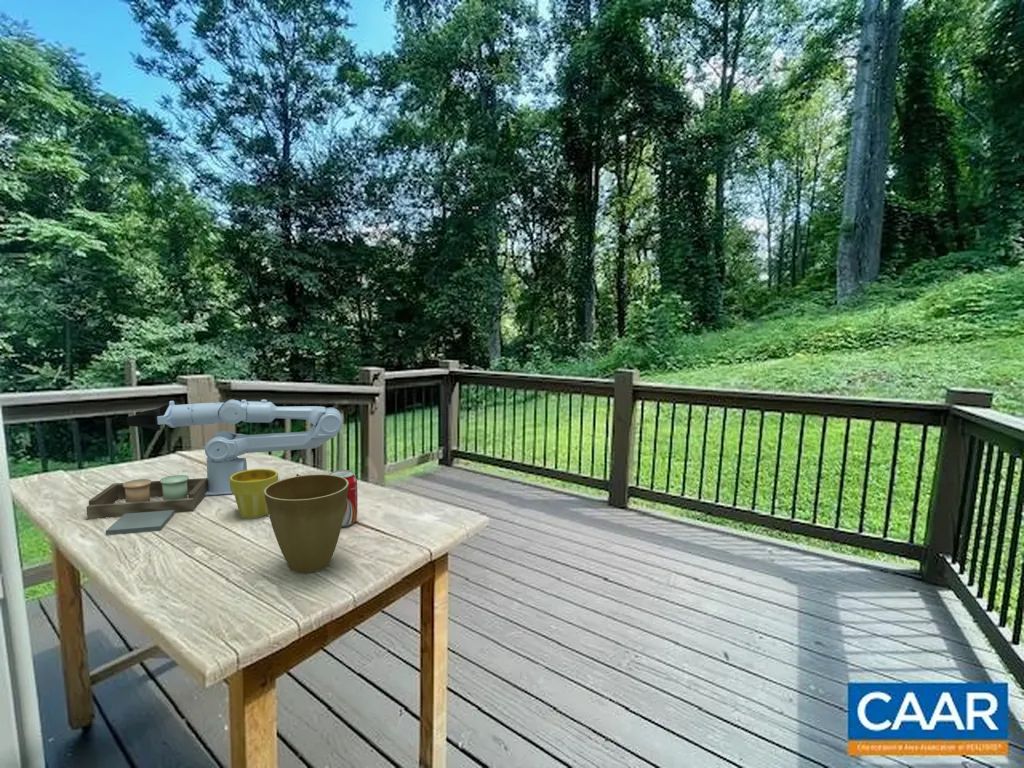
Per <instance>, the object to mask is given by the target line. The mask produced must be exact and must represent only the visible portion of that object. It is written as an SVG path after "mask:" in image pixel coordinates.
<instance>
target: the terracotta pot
mask: <svg viewBox="0 0 1024 768" xmlns="http://www.w3.org/2000/svg"><path fill="white" fill-rule="evenodd" d="M151 481H152V480H151V479H148V478H142V479H141V478H140V479H138V478H137V479H132V480H128V481H126V482H122V483H123V488H125V495H126V499H125V503H127V502H141V501H151V498H150V489H149V485H150V484H151Z"/></svg>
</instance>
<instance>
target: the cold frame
mask: <svg viewBox="0 0 1024 768" xmlns="http://www.w3.org/2000/svg"><path fill="white" fill-rule="evenodd" d="M123 483H124V482H118V483H117V482H116V483H112V484H110V485H109V486H108V487H106V488H105V489H103V490H101V491H100V492H99V493H97V494H96V495H95V496H94V497H92V498H90V499H89V500H88V505H87V506H86V507H85V508H86V520H98V519H97V518H100V519H107V518H106V517H109V518H108V519H110V517H113V518H121V517H122V516H123V515H124V514H127V513H140V512H154V511H167V510H175V514H177V513H190V512H194V511H195V510H196V508H197V507H198V506H199V504H200V503H201V502H202V501H203V500H204V498H205V497H206V496H205V493H206V492H207V491H208V482H207V477H204V478H189V480H188V481H187V491H188V498H186V499H171V500H163V499H159V500H158V499H157V500H150V501H141V502H127V503H126V502H117V501H118V499H121V500H126V495H125V488H123ZM149 489H150V497H151V498H163V497H162V496H163V489H162V484H161V483H160V480H151V484H150V485H149ZM202 499H203V500H202ZM115 501H116V502H117V503H116V502H115Z"/></svg>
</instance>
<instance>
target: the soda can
mask: <svg viewBox="0 0 1024 768" xmlns="http://www.w3.org/2000/svg"><path fill="white" fill-rule="evenodd" d="M327 475H336V476H340V477H343V478H345V479H347V480H348V482H349V484H348V493H347V501H346V507H345V513H344V518H343V522H342V527H341V528H345V527H349V526H351V525H352V524H353V523H356V521H357V518H358V479H357V477H356V476H355V472H354V471H353V470H348V469H340V470H339V469H338V470H334V471H331V472H329V473H327Z"/></svg>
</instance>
